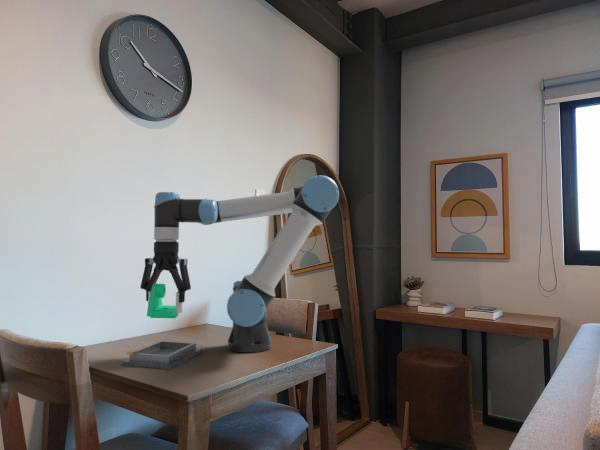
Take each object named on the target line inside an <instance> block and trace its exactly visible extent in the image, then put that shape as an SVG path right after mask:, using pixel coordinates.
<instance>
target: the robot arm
mask: <svg viewBox="0 0 600 450" xmlns="http://www.w3.org/2000/svg"><path fill="white" fill-rule="evenodd" d="M339 189H340V188H339V187H338V184H337V183H336V182H335V180H334V179H333V178H330V177H329V176H327V175H323V174H322V175H321V174H319V175H314V176H311V177H310V178H308V179H307V180H305V182H304V183H303V185H302V186H298V187H292V188H291V189H290V191H285V192H284V191H283V192H277V193H269V194H261V195H255V196H247V197H238V198H232V199H224V200H215V199H208V198H203V199H202V198H201V199H200V198H199V199H198V198H197V199H196V198H189V199H186V198H185V199H184V198H181V197H180V194H179V193H178V192H175V191H159V192H157V193H156V194H155V196H154V205H153V208H154V228H153V239H154V240H155V241H154V242H153V253H154V256H153V257H147V258H145V259H144V269H143V274H142V277H141V284H140V289H141V290H144V291H145V293H146V294H145V296H146V297H145V300H146V302H147V306H148V305H149V300H150V295H151V290H152V285H153V284H157V281H158V280H159V277H160V276H161V273H163V271H168V272H169V273H170V274H171V277H172V279H173V280H172V281H173V282H174V285H175V286H176V288H177V292H175V306H176V314H182V313H183V303H185V300H186V299H185V298H186V297H185V296H186V292H187V291H189V290H191V287H192V285H191V281H190V276H189V272H188V258H180V257H179V250H180V249H179V248H180V247H179V244H180V243H179V242H178V240H179V237H180V235H179V234H180V233H179V232H180V223H192V224H193V223H196V224H197V223H198V224H201V225H205V226H209V225H210V226H211V225H212V224H213V225H214V224H219V223H223V222H224V223H225V222H231V221H232V222H233V221H238V220H247V219H255V218H263V217H268V216H269V217H270V216H276V215H284V214H290V215H289V217H288V218H287V220H286V221H285V223H284V224H283V226H282V227H281V228H280V231H279V232H278V233H277V234H276V236H275V238H274V240H273V241H272V242H271V244H270V246H269V247H268V248H267V250H266V252H265V253H264V254H263V256H262V258H261V259H260V261H259V262H258V264H257V266H255V268H254V269H253V271H252V273H251V274H246V275H244V277H243V278H242V280H236V281H234V282H233V287H232V294H231V295H230V296H229V298H228V299H227V303H226V309H227V315H228V317H229V318H230V320H231V321H232V327H231V330H230V333H229V337H228V339H227V349H228V350H229V351H233V352H236V353H237V352H238V353H259V352H264V351H267V350H270V349H271V348H272V339H271V336H270V333H269V332H270V331H269V329H268V325H267V310H268V308H269V306H270V304H271V303H272V302H273V300H274V298H275V297H276V292H275V288H276V287H277V285H278V284H279V283H280V281H281V279H282V278H283V276H284V275H285V273H286V272H287V270H288V268H289V266H290V265H291V263H292V262H293V261H294V259H295V258H296V256H297V254H298V252H299V251H300V250H301V248H302V247H303V245H304V244H305V242H306V241H307V239H308V238H309V236H310V234H311V233H312V231H313V230H314V228H315V227H316V226H319V225H320V226H321V225H322V224H323V223H324V222H325V220H326V218H327V217H328V215H329V214H330V212H331V211H332V209H334V208H335V207H336V205H337V204H338V202H339V200H340V199H339V198H340V191H339ZM154 264H155V266H154V268H153V265H154ZM177 264H178V265H179V269H178V266H177ZM179 271H180V273H179Z"/></svg>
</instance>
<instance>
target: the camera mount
mask: <svg viewBox="0 0 600 450" xmlns="http://www.w3.org/2000/svg"><path fill="white" fill-rule="evenodd" d="M166 288H167V287H166V284H165V283H156V284H153V285H152V290H151V295H150V300H149V305H148V304H147V313H146V317H149V318H150V319H176V318H178V317H179V314H180V313H179V314H176V305H170V304H169V305H168V304H167V305H163V298H164V299H165V296H166V292H167V291H166Z"/></svg>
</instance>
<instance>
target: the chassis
mask: <svg viewBox="0 0 600 450" xmlns="http://www.w3.org/2000/svg"><path fill="white" fill-rule="evenodd" d="M202 353H203V348H202V347H197V343H196V342H185V341H169V340H159V341H157V342H155V343H151V344H149V345H147V346H145V347H142V348H140V349H137V350H136V349H135V350H134V349H133V350H132V349H130V350H128V351H127V352H126V354H127V355H129V358H127V359H124V360H121V366H124V367H125V366H127V367H136V368H137V367H138V368H147V369H148V368H151V369H152V368H153V369H161V370H162V369H163V370H172V369H175V368H176V367H178V366H180V365H182V364H183V363H185V362H187V361H189V360H190V359H192V358H194V357H195V356H198V355H199V354H202Z"/></svg>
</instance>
